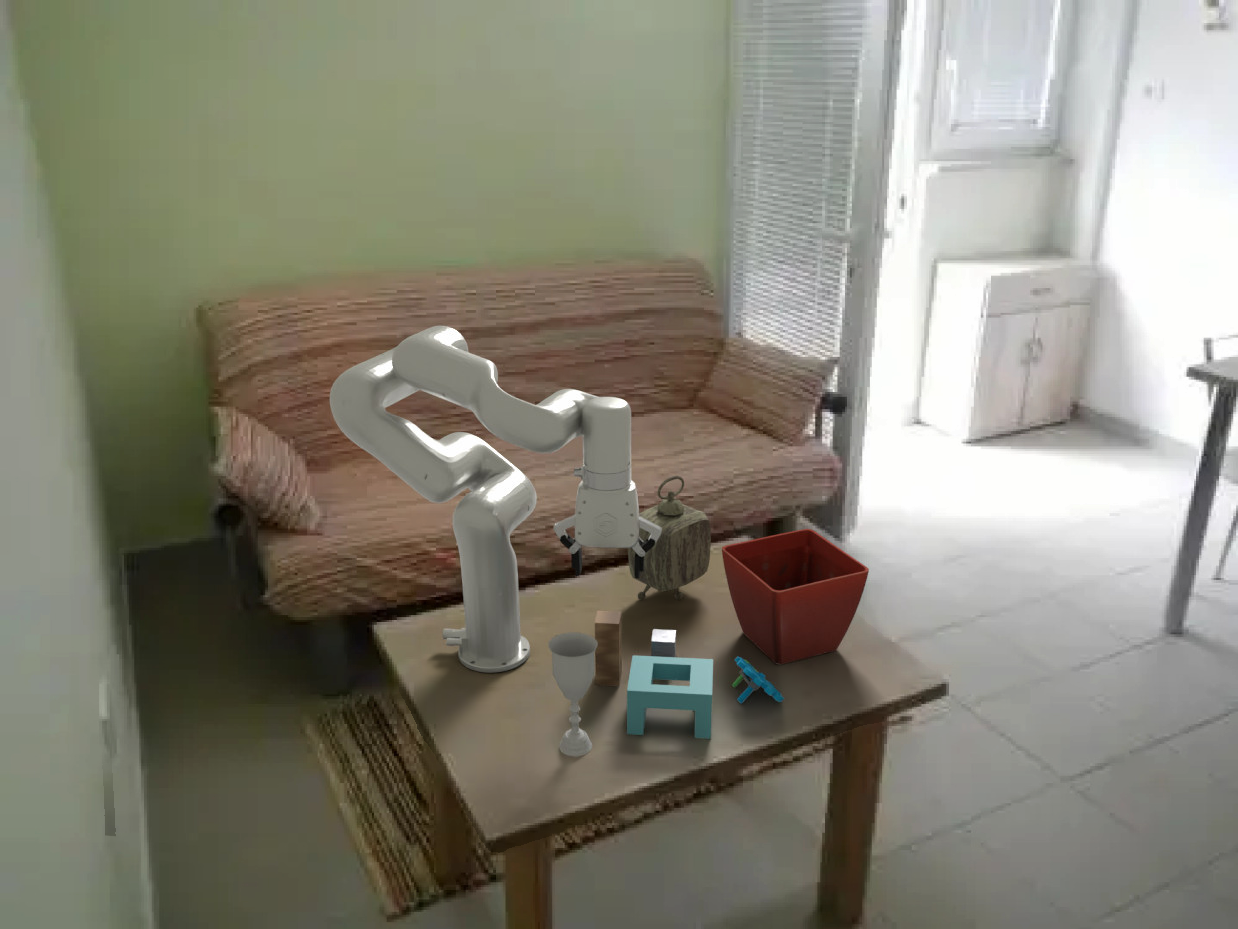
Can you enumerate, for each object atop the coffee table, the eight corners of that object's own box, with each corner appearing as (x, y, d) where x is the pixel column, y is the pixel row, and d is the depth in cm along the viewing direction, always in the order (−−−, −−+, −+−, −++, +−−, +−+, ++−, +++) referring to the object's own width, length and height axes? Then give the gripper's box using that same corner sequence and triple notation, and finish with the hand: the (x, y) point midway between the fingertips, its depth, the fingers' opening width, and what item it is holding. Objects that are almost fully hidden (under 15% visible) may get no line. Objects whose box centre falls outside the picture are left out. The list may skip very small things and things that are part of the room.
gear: (795, 705, 165) (752, 670, 162) (770, 732, 165) (727, 698, 162) (770, 676, 176) (730, 642, 172) (747, 701, 176) (707, 668, 173)
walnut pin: (595, 685, 174) (594, 622, 169) (598, 672, 177) (597, 610, 173) (619, 686, 173) (618, 624, 169) (621, 673, 177) (621, 611, 172)
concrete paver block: (651, 671, 177) (651, 641, 175) (652, 659, 181) (652, 629, 179) (674, 672, 177) (674, 642, 175) (675, 660, 181) (676, 630, 178)
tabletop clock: (679, 576, 210) (681, 461, 201) (712, 591, 204) (716, 474, 194) (628, 600, 201) (627, 481, 191) (661, 617, 194) (662, 495, 185)
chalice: (547, 757, 156) (543, 654, 149) (557, 730, 162) (554, 630, 155) (594, 762, 154) (592, 659, 148) (603, 735, 161) (601, 634, 154)
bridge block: (627, 734, 161) (627, 690, 158) (632, 697, 170) (632, 655, 167) (710, 738, 160) (712, 694, 157) (711, 701, 169) (713, 659, 166)
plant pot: (716, 627, 191) (719, 545, 185) (804, 606, 198) (810, 526, 192) (770, 680, 175) (774, 592, 168) (864, 656, 181) (872, 570, 175)
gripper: (548, 483, 159) (551, 582, 165) (661, 487, 157) (659, 586, 164) (556, 465, 166) (558, 561, 172) (663, 469, 164) (662, 565, 171)
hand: (608, 573), depth 168 cm, fingers open, 9 cm apart
